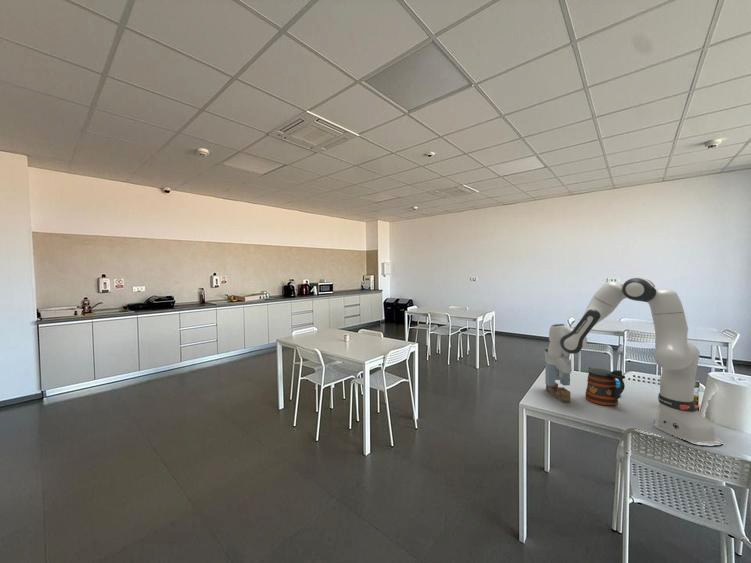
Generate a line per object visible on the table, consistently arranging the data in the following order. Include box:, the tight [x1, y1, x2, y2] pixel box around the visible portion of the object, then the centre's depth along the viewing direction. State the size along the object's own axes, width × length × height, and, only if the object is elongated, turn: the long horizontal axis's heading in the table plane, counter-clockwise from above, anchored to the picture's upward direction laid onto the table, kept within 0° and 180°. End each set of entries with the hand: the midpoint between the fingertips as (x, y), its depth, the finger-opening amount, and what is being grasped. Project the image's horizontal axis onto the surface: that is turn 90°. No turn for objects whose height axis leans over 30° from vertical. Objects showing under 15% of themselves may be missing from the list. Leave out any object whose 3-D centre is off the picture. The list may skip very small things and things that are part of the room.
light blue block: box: [544, 364, 571, 386], centre depth 176 cm, size 12×4×11 cm, turn 89°
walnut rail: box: [545, 381, 571, 404], centre depth 177 cm, size 18×4×6 cm, turn 179°
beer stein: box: [585, 367, 626, 407], centre depth 167 cm, size 19×15×20 cm
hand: (557, 375), depth 176 cm, fingers closed on light blue block, 3 cm apart
